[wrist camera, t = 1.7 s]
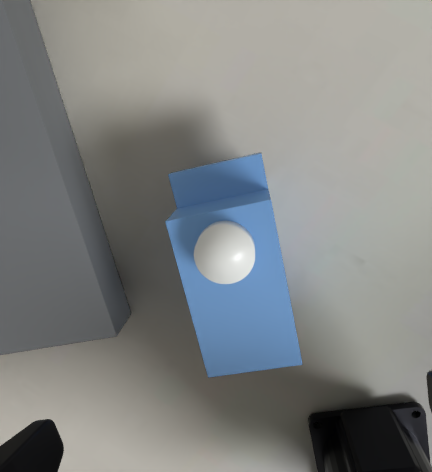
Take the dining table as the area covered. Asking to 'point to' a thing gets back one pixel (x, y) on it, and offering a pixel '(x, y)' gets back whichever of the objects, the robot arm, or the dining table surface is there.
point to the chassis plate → (46, 208)
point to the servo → (232, 267)
